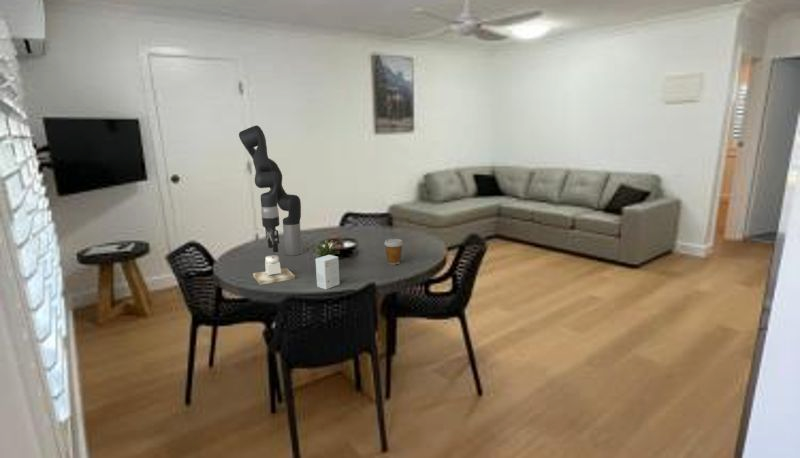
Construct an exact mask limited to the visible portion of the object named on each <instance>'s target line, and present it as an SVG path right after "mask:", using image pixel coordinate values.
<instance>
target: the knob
mask: <svg viewBox="0 0 800 458" xmlns="http://www.w3.org/2000/svg"><path fill="white" fill-rule="evenodd" d="M264 266H265V271H266V273H267V274H268V275H272V274H278V273H281V269H282V268H281V262H280V258H279V255H275V254H272V255H266V256H265V261H264Z"/></svg>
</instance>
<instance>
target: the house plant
mask: <svg viewBox="0 0 800 458" xmlns="http://www.w3.org/2000/svg"><path fill="white" fill-rule="evenodd" d="M333 240H334V239H332V240H331V241H330V242H328V239H326V238H325V239H324V245H323V244H322V243H320V242H317V244H316V245H315V247H316V248H318V249H317V250H315V252H316V253H318V254H317V255H316V257H317V258H320V257H323V256H326V255H333V256H334V255H338V254H339V255H340V250H338V249H339V247H337V246H339V245H341V244H339V243H338V241H335V242H333ZM332 242H333V244H332ZM337 243H338V244H337Z"/></svg>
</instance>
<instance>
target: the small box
mask: <svg viewBox="0 0 800 458" xmlns="http://www.w3.org/2000/svg"><path fill="white" fill-rule="evenodd" d="M339 263H340V262H339V256H336V255H334V254H333V255H326V256H323V257H322V256H320V257H316V258H315V272H316V274H315V275H316V286H317V288H321V289H324V290H328V289H330V288H334V287H337V286H340V268H339V266H340V265H339Z"/></svg>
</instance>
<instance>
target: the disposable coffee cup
mask: <svg viewBox="0 0 800 458" xmlns="http://www.w3.org/2000/svg"><path fill="white" fill-rule="evenodd" d="M383 244H384V247H385V252H386V259H387V263H388V262H389V263H397V262H400V263H401V257H402V248H403V244H404V242H403V240H402V239H399V238H389V239H385V241H384V243H383Z"/></svg>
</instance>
